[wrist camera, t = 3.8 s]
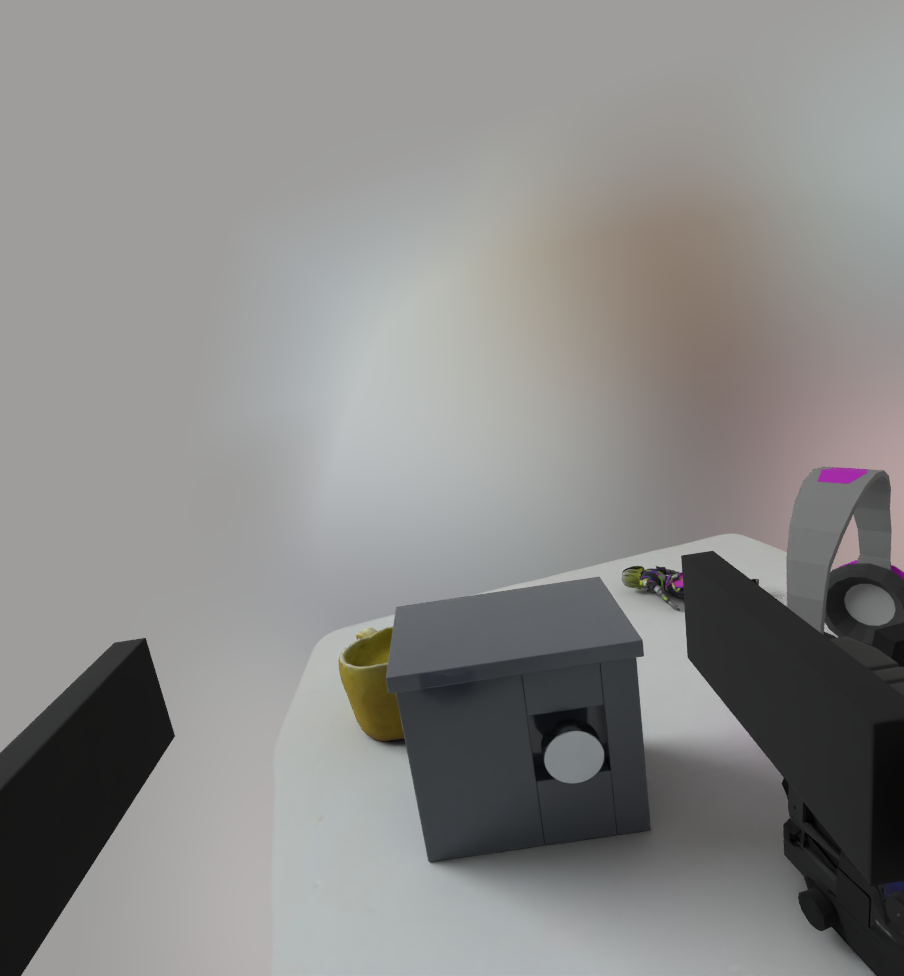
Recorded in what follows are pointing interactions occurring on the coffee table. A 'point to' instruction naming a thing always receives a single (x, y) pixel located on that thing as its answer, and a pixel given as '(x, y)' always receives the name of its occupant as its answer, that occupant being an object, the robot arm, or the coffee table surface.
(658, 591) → the character figure
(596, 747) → the flush button
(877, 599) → the headphones
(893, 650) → the camera
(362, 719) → the mug
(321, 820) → the coffee table surface
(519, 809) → the cabinet
